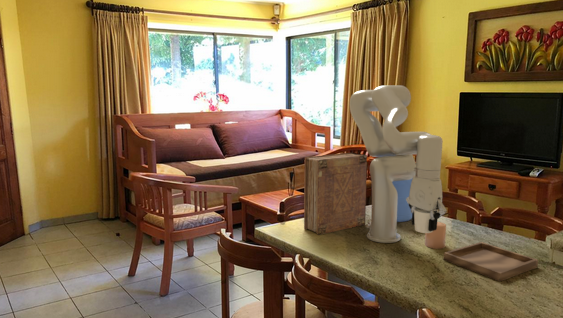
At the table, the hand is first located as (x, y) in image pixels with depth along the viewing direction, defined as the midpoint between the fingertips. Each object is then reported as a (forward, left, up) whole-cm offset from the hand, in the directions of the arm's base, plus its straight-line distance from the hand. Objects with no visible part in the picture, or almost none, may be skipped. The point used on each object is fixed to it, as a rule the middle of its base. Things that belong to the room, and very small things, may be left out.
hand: (423, 226), depth 143 cm
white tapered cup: (0, 0, -1) cm, 1 cm away
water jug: (-42, +30, -12) cm, 53 cm away
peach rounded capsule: (-8, +16, -12) cm, 21 cm away
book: (-45, -1, -12) cm, 47 cm away
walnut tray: (+13, +17, -12) cm, 24 cm away
